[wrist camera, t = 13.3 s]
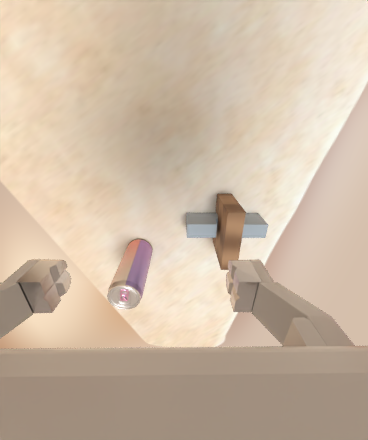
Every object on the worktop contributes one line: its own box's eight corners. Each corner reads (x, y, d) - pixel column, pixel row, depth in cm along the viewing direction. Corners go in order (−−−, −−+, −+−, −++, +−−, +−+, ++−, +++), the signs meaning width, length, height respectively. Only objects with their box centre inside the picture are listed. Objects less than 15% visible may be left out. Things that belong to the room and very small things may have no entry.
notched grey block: (186, 212, 42) (187, 224, 37) (257, 213, 43) (268, 224, 38) (186, 224, 44) (186, 237, 39) (255, 225, 44) (265, 237, 39)
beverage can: (154, 240, 45) (142, 287, 32) (151, 260, 48) (139, 312, 34) (128, 236, 45) (106, 283, 31) (127, 256, 47) (105, 308, 34)
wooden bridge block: (217, 193, 40) (227, 212, 31) (231, 193, 41) (245, 212, 32) (213, 241, 46) (221, 269, 37) (225, 241, 46) (236, 269, 37)
